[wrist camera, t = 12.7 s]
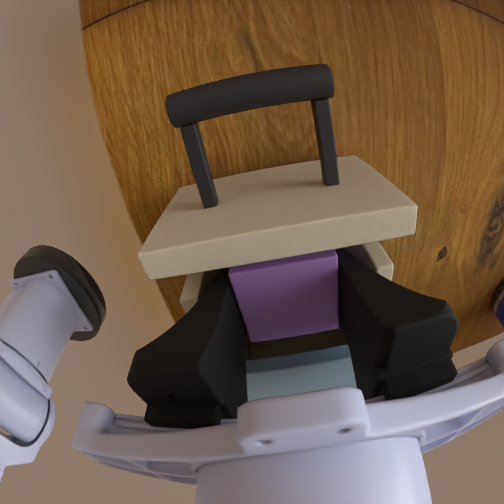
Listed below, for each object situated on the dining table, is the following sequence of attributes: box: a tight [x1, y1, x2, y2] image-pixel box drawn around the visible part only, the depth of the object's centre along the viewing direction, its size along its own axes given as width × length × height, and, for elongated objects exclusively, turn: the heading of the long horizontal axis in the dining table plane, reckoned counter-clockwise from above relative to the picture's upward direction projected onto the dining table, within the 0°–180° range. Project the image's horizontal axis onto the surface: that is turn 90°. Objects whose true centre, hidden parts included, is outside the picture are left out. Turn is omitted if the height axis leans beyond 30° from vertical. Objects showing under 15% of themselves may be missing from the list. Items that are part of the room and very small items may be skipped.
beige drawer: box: [137, 64, 417, 360], centre depth 14 cm, size 17×10×7 cm, turn 12°
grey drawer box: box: [246, 344, 357, 401], centre depth 19 cm, size 14×11×9 cm
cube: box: [228, 249, 339, 342], centre depth 13 cm, size 4×4×4 cm
